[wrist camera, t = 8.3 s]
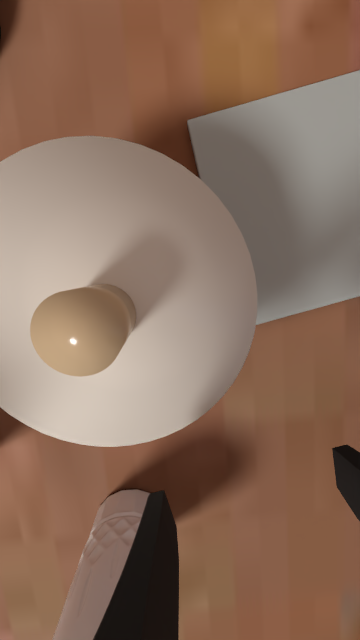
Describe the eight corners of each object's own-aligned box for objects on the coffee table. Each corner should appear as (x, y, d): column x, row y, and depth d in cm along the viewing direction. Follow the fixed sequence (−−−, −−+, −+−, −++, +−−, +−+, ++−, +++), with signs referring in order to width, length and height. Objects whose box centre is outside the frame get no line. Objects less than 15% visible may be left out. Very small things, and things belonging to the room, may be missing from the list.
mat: (402, 61, 15) (409, 55, 14) (409, 280, 18) (415, 280, 18) (187, 124, 15) (187, 120, 15) (233, 329, 18) (235, 330, 18)
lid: (216, 106, 9) (252, -14, 5) (272, 398, 12) (320, 457, 8) (-106, 197, 9) (-303, 145, 5) (30, 462, 12) (-32, 550, 9)
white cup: (96, 478, 21) (34, 658, 11) (178, 487, 22) (185, 663, 12) (88, 541, 23) (27, 744, 13) (164, 547, 23) (161, 745, 14)
